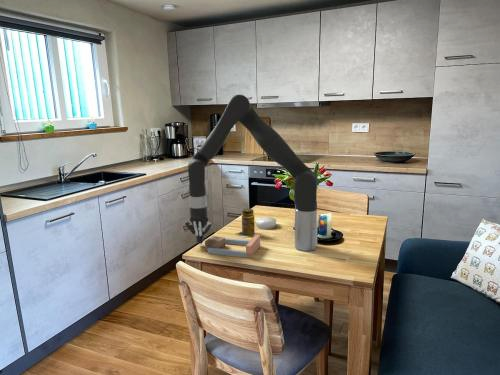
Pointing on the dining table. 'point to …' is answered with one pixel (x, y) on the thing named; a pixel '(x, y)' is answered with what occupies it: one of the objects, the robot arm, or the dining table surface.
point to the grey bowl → (266, 222)
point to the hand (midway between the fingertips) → (200, 243)
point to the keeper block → (215, 242)
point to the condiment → (247, 223)
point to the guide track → (250, 247)
